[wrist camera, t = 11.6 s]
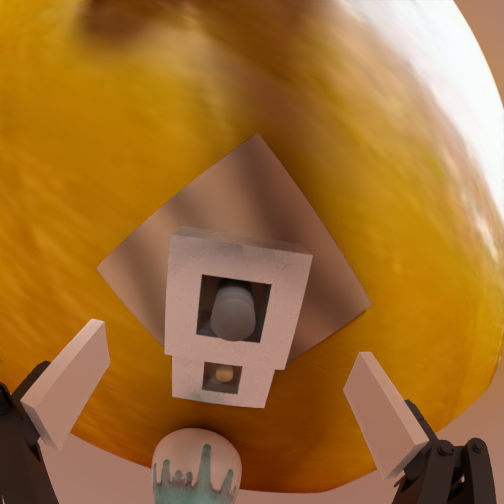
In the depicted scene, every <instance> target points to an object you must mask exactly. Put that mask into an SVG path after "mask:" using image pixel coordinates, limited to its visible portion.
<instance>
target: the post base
mask: <svg viewBox="0 0 504 504" xmlns="http://www.w3.org/2000/svg"><path fill="white" fill-rule="evenodd" d="M182 226H186V227H193V228H200V229H207V230H214V231H220V232H227V233H234V234H241V235H247V236H254V237H260V238H267V239H273V240H280V241H286V242H292V243H298V244H302V245H303V246H304V247H305V248H306V249H307V250H308V251H309V252H310V253H311V254H312V255H313V257H312V262H311V267H310V271H309V276H308V280H307V284H306V289H305V293H304V297H303V301H302V305H301V309H300V313H299V317H298V321H297V325H296V329H295V333H294V337H293V340H292V344H291V348H290V351H289V355H288V359H287V362H286V364H287V363H288V362H290V361H291V360H293V359H295V358H296V357H298V356H299V355H301V354H303V353H304V352H306V351H307V350H309V349H310V348H312V347H313V346H315V345H316V344H318V343H319V342H321V341H322V340H324V339H325V338H327V337H328V336H330V335H331V334H333V333H334V332H336V331H337V330H338V329H340V328H341V327H343V326H344V325H345V324H347V323H348V322H349V321H351V320H352V319H354V318H355V317H356V316H358V315H359V314H360V313H362V312H363V311H364V310H366V309H367V308H368V307H369V306H371V305H372V303H371V301H370V299H369V297H368V295H367V294H366V292H365V290H364V288H363V287H362V285H361V283H360V282H359V280H358V278H357V277H356V275H355V273H354V271H353V270H352V268H351V267H350V265H349V263H348V262H347V260H346V258H345V257H344V255H343V253H342V252H341V250H340V249H339V247H338V245H337V244H336V242H335V241H334V239H333V238H332V236H331V234H330V233H329V231H328V230H327V228H326V227H325V225H324V224H323V222H322V221H321V219H320V218H319V216H318V215H317V213H316V212H315V210H314V209H313V207H312V206H311V204H310V203H309V201H308V200H307V199H306V197H305V196H304V194H303V193H302V191H301V190H300V189H299V187H298V186H297V184H296V183H295V181H294V180H293V179H292V177H291V176H290V175H289V173H288V172H287V170H286V169H285V168H284V166H283V165H282V164H281V162H280V161H279V160H278V158H277V157H276V156H275V154H274V153H273V152H272V150H271V149H270V148H269V146H268V145H267V144H266V142H265V141H264V140H263V139H262V137H261V136H260V135H259V133H257V134H255V135H254V136H253V137H251V138H250V139H248V140H247V141H245V142H244V143H243V144H241V145H240V146H238V147H237V148H236V149H234V150H233V151H231V152H230V153H229V154H227V155H226V156H225V157H223V158H222V159H220V160H219V161H218V162H216V163H215V164H214V165H213V166H211V167H210V168H209V169H207V170H206V171H205V172H203V173H202V174H201V175H200V176H198V177H197V178H196V179H194V180H193V181H192V182H191V183H189V184H188V185H187V186H186V187H184V188H183V189H182V190H181V191H180V192H178V193H177V194H176V195H175V196H174V197H172V198H171V199H170V200H169V201H168V202H166V203H165V204H164V205H163V206H162V207H161V208H159V209H158V210H157V211H156V212H155V213H154V214H152V215H151V216H150V217H149V218H148V219H147V220H146V221H145V222H143V223H142V224H141V225H140V226H139V227H138V228H137V229H136V230H135V231H134V232H132V233H131V234H130V235H129V236H128V237H127V238H126V239H125V240H124V241H123V242H122V243H121V244H120V245H119V246H118V247H117V248H116V249H115V250H113V251H112V252H111V253H110V254H109V255H108V256H107V257H106V258H105V259H104V260H103V261H102V262H101V263H100V264H99V265H98V266H97V267H96V269H97V270H98V271H99V273H100V274H101V275H102V277H103V278H104V279H105V281H106V282H107V283H108V284H109V286H110V287H111V288H112V289H113V291H114V292H115V293H116V294H117V296H118V297H119V298H120V299H121V300H122V302H123V303H124V304H125V305H126V306H127V308H128V309H129V310H130V311H131V312H132V313H133V314H134V316H135V317H136V318H137V319H138V320H139V321H140V322H141V323H142V325H143V326H144V327H145V328H146V329H147V330H148V331H149V332H150V333H151V334H152V335H153V337H154V338H155V339H156V340H157V341H158V342H159V343H160V344H161V345H162V346H163V347H164V348H165V310H166V289H167V273H168V260H169V248H170V237H171V234H172V233H173V232H175V231H176V230H178V229H179V228H181V227H182ZM263 287H264V283H260V282H252V281H245V280H238V279H231V278H224V277H218V276H211V275H207V276H206V284H205V293H204V303H203V312H204V313H210V314H212V315H211V327H212V329H213V331H214V333H215V334H216V335H217V336H218V337H220V338H221V339H224V340H226V341H232V342H235V341H241V340H244V339H246V338H247V337H249V336H250V335H251V334H252V332H253V331H254V328H255V324H256V321H255V320H257V318H258V313H259V308H260V303H261V298H262V292H263ZM275 370H276V369H275ZM239 371H240V366H235V365H227V364H219V363H212V362H206V363H205V373H204V378H210V379H217V380H220V381H222V382H227V381H233V382H238V377H239Z"/></svg>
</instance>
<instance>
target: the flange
mask: <svg viewBox="0 0 504 504" xmlns="http://www.w3.org/2000/svg"><path fill="white" fill-rule="evenodd" d="M312 257H313V255H312V254H311V253H310V252H309V251H308V250H307V249H306V248H305V247H304V246H303V245H302V244H298V243H292V242H286V241H280V240H273V239H267V238H260V237H254V236H247V235H241V234H234V233H227V232H220V231H214V230H207V229H200V228H193V227H186V226H182V227H181V228H179V229H178V230H176V231H175V232H173V233H172V234H171V237H170V248H169V260H168V273H167V289H166V310H165V354H166V355H171V356H172V396H173V397H178V398H183V399H189V400H195V401H201V402H208V403H215V404H223V405H232V406H241V407H253V408H264V407H265V404H266V400H267V397H268V393H269V390H270V386H271V383H272V379H273V375H274V372H275V369H276V370H284V369H285V366H286V362H287V359H288V355H289V351H290V348H291V344H292V340H293V337H294V333H295V329H296V325H297V321H298V317H299V313H300V309H301V305H302V301H303V297H304V293H305V289H306V284H307V280H308V276H309V271H310V267H311V262H312ZM207 275H211V276H218V277H224V278H231V279H238V280H245V281H252V282H260V283H264V287H263V292H262V298H261V303H260V308H259V313H258V318H257V320H255V321H256V324H255V328H254V331H253V332H252V334H251V335H250V336H249V337H247V338H246V339H244V340H241V341H235V342H232V341H226V340H224V339H221V338H220V337H218V336H217V335H216V334H215V333H214V331H213V329H212V327H211V315H212V314H210V313H204V312H203V303H204V293H205V284H206V276H207ZM206 362H212V363H219V364H227V365H235V366H240V371H239V377H238V382H233V381H227V382H222V381H220V380H217V379H210V378H204V373H205V363H206Z"/></svg>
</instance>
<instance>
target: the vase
mask: <svg viewBox="0 0 504 504" xmlns="http://www.w3.org/2000/svg"><path fill="white" fill-rule="evenodd" d="M151 471H152V472H151V475H152V477H151V478H152V488H153V494H154V501H155V504H234V502H235V499H236V497H237V494H238V490H239V486H240V481H241V475H242V464H241V459H240V456H239V454H238V452H237V450H236V449H235V447H234V446H233V445H232V444H231V443H230V442H229V441H228V440H227V439H226V438H224V437H223V436H221V435H219V434H217V433H215V432H213V431H209V430H206V429H200V428H184V429H179V430H176V431H173V432H171V433H169V434H168V435H166V436H165V437H164V438H163V439H162V440H161V441H160V442H159V443H158V445H157V447H156V449H155V451H154V454H153V458H152V470H151Z"/></svg>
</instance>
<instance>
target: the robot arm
mask: <svg viewBox="0 0 504 504" xmlns="http://www.w3.org/2000/svg"><path fill="white" fill-rule="evenodd" d="M109 365H110V359H109V352H108V346H107V338H106V330H105V322H104V321H100V320H96V319H91V320H90V321H89V322H88V323H87V324H86V325H85V326H84V327H83V329H82V330H81V331H80V332H79V333H78V334H77V335H76V336H75V337H74V338H73V339H72V340H71V341H70V343H69V344H68V345H67V346H66V347H65V348H64V349H63V350H62V351H61V352H60V354H59V355H58V356H57V357H56V358H55V359H54V360H53V361H52V363H51V362H49V361H44V362H42V363H40V364H38V365H37V366H36V367H35V368H34V369H33V370H32V372H31V373H30V374H29V375H28V376H27V378H25V379H24V381H23V382H22V383H21V384H20V385H19V386H18V388H17V389H16V390H15V391H14V392H13V394H12V395H11V394H10V392H9V390H8V388H7V387H6V386H5V384H3V383H1V382H0V504H3V501H2V495H3V499H4V502H5V504H59V502H58V500H57V498H56V495H55V493H54V490H53V488H52V485H51V482H50V479H49V476H48V473H47V470H46V467H45V464H44V461H43V457H42V454H41V450H40V446H39V444H38V442H37V441H38V439H39V437H41V438H42V440H43V442H44V443H45V444H46V445H48V446H50V447H52V448H54V449H56V450H58V451H60V449H61V447H62V445H63V443H64V441H65V440H66V438H67V436H68V434H69V432H70V431H71V429H72V427H73V425H74V423H75V422H76V420H77V418H78V416H79V415H80V413H81V411H82V409H83V408H84V406H85V404H86V402H87V401H88V399H89V397H90V396H91V394H92V392H93V391H94V389H95V387H96V386H97V384H98V383H99V381H100V379H101V378H102V376H103V374H104V373H105V371H106V370H107V368H108V366H109ZM343 391H344V393H345V396H346V398H347V400H348V402H349V405H350V407H351V409H352V411H353V414H354V416H355V418H356V420H357V423H358V425H359V427H360V429H361V432H362V434H363V436H364V439H365V441H366V443H367V446H368V448H369V450H370V452H371V455H372V457H373V460H374V462H375V464H376V467H377V469H378V471H379V474H380V476H381V479H382V481H383V480H386V479H390V478H393V477H396V476H397V475H398V474H399V473H400V472H401V471H402V470H404V472H405V475H404V476H403V477H402V478H401V479H400V480H399V481H398V482H397V483H396V484H395V485H394V487H396V486H397V485H398V484H400V485H399V488H398V490H397V493H396V495H395V498H394V500H393V502H392V504H496V494H495V486H494V480H493V474H492V468H491V464H490V458H489V454H488V449H487V446H486V444H485V442H484V441H483V440H481V439H479V438H472V439H471V440H469V441H468V442H467V443H466V445H465V446H453V445H452V444H451V443H450V442H449V441H446V440H439V439H438V438H437V437H436V435H435V434H434V432H433V431H432V429H431V428H430V426H429V424H428V423H427V421H426V420H424V417H423V416H422V414H420V411H419V410H418V408H417V407H416V405H415V404H413V403H412V402H411V401H409V400H403V398H402V397H401V395H400V394H399V392H398V391H397V389H396V388H395V386H394V385H393V383H392V382H391V380H390V379H389V377H388V376H387V374H386V373H385V371H384V370H383V369H382V367H381V366H380V364H379V363H378V361H377V360H376V358H375V357H374V356H373V354H372V353H371V352H359V353H358V355H357V358H356V360H355V363H354V365H353V368H352V370H351V372H350V375H349V377H348V379H347V382H346V384H345V386H344V388H343ZM463 476H464V479H465V481H464V482H462V480H461V478H462V477H463Z"/></svg>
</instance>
